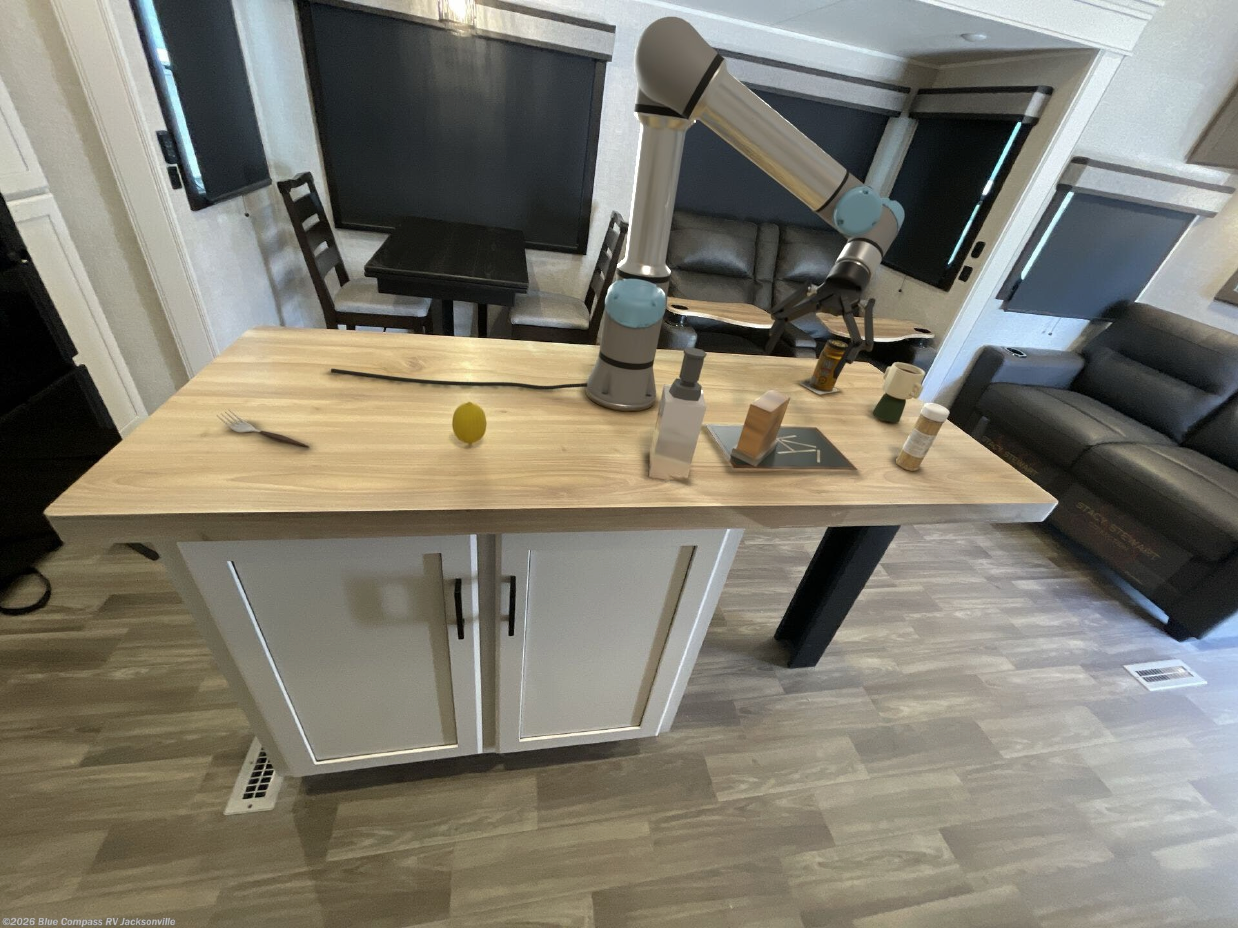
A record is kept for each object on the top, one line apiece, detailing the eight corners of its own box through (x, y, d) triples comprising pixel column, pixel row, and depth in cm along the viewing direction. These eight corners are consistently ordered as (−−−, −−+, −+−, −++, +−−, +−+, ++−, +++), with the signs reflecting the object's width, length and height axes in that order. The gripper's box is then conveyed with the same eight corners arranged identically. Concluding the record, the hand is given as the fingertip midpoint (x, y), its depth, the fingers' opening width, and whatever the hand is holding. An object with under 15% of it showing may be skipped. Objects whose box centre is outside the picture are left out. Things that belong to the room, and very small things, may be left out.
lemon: (457, 454, 88) (456, 412, 83) (449, 437, 92) (448, 396, 87) (490, 450, 90) (491, 408, 86) (481, 433, 94) (481, 393, 90)
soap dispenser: (682, 455, 98) (711, 342, 86) (686, 482, 91) (718, 363, 79) (648, 450, 98) (672, 336, 86) (649, 477, 91) (675, 356, 79)
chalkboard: (732, 472, 96) (733, 467, 95) (703, 427, 109) (704, 423, 108) (855, 473, 102) (857, 469, 102) (814, 431, 115) (816, 427, 115)
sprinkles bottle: (904, 458, 111) (934, 401, 103) (922, 470, 107) (955, 412, 100) (890, 461, 109) (919, 402, 101) (908, 473, 105) (940, 414, 98)
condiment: (839, 391, 137) (857, 347, 130) (819, 395, 132) (837, 350, 126) (817, 379, 142) (833, 336, 135) (796, 383, 137) (813, 338, 131)
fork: (303, 454, 82) (301, 443, 81) (218, 426, 84) (215, 415, 83) (316, 446, 84) (314, 435, 83) (232, 419, 86) (229, 408, 85)
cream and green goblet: (912, 429, 123) (939, 379, 116) (889, 430, 121) (915, 379, 114) (880, 407, 132) (903, 358, 125) (858, 408, 129) (880, 358, 122)
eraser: (755, 467, 97) (774, 414, 91) (730, 455, 99) (746, 402, 93) (776, 448, 104) (794, 398, 98) (752, 437, 106) (768, 387, 100)
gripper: (915, 303, 101) (863, 395, 98) (792, 268, 112) (743, 351, 109) (922, 277, 94) (868, 376, 92) (791, 243, 105) (739, 331, 102)
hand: (800, 362), depth 100 cm, fingers open, 13 cm apart
